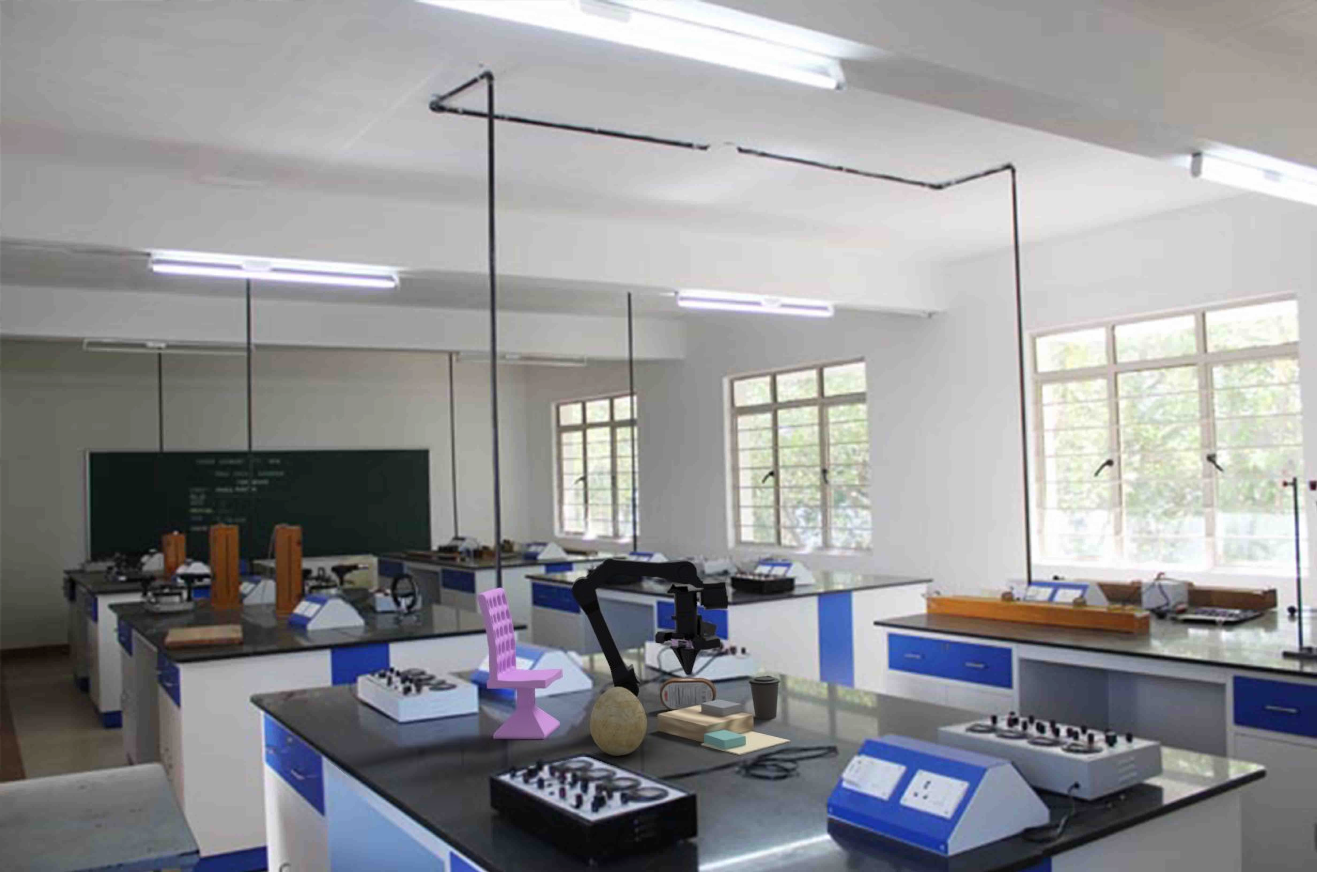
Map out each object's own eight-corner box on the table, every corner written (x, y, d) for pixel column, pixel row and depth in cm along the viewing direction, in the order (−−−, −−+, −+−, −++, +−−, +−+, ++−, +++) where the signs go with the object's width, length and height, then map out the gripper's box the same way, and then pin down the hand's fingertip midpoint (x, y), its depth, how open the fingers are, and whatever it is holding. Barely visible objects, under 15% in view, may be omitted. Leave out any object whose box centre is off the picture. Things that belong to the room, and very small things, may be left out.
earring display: (547, 739, 248) (542, 592, 249) (478, 739, 251) (474, 594, 253) (564, 725, 262) (559, 586, 264) (499, 724, 265) (494, 587, 267)
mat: (739, 754, 228) (739, 753, 228) (701, 744, 238) (701, 743, 238) (790, 741, 238) (790, 740, 238) (751, 732, 248) (751, 731, 248)
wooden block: (707, 743, 239) (706, 725, 239) (658, 730, 253) (657, 713, 253) (753, 731, 248) (753, 714, 249) (704, 719, 262) (703, 703, 263)
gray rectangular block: (723, 716, 248) (723, 707, 248) (701, 711, 254) (701, 703, 254) (741, 712, 252) (741, 703, 252) (719, 707, 258) (719, 699, 258)
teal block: (724, 749, 232) (724, 740, 232) (704, 742, 239) (703, 733, 239) (746, 744, 235) (745, 735, 235) (725, 738, 242) (724, 729, 242)
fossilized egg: (584, 751, 236) (581, 685, 236) (636, 744, 240) (634, 679, 241) (600, 765, 224) (598, 695, 224) (655, 757, 228) (653, 688, 229)
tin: (716, 708, 276) (715, 676, 276) (716, 710, 273) (715, 678, 273) (660, 709, 277) (659, 677, 278) (659, 711, 274) (658, 679, 274)
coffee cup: (781, 712, 267) (779, 673, 268) (782, 720, 259) (780, 679, 260) (749, 713, 268) (748, 674, 268) (749, 720, 260) (748, 680, 260)
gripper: (735, 610, 253) (738, 674, 253) (686, 605, 268) (688, 665, 267) (701, 615, 246) (704, 681, 246) (652, 609, 261) (655, 672, 260)
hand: (688, 674), depth 255 cm, fingers closed
